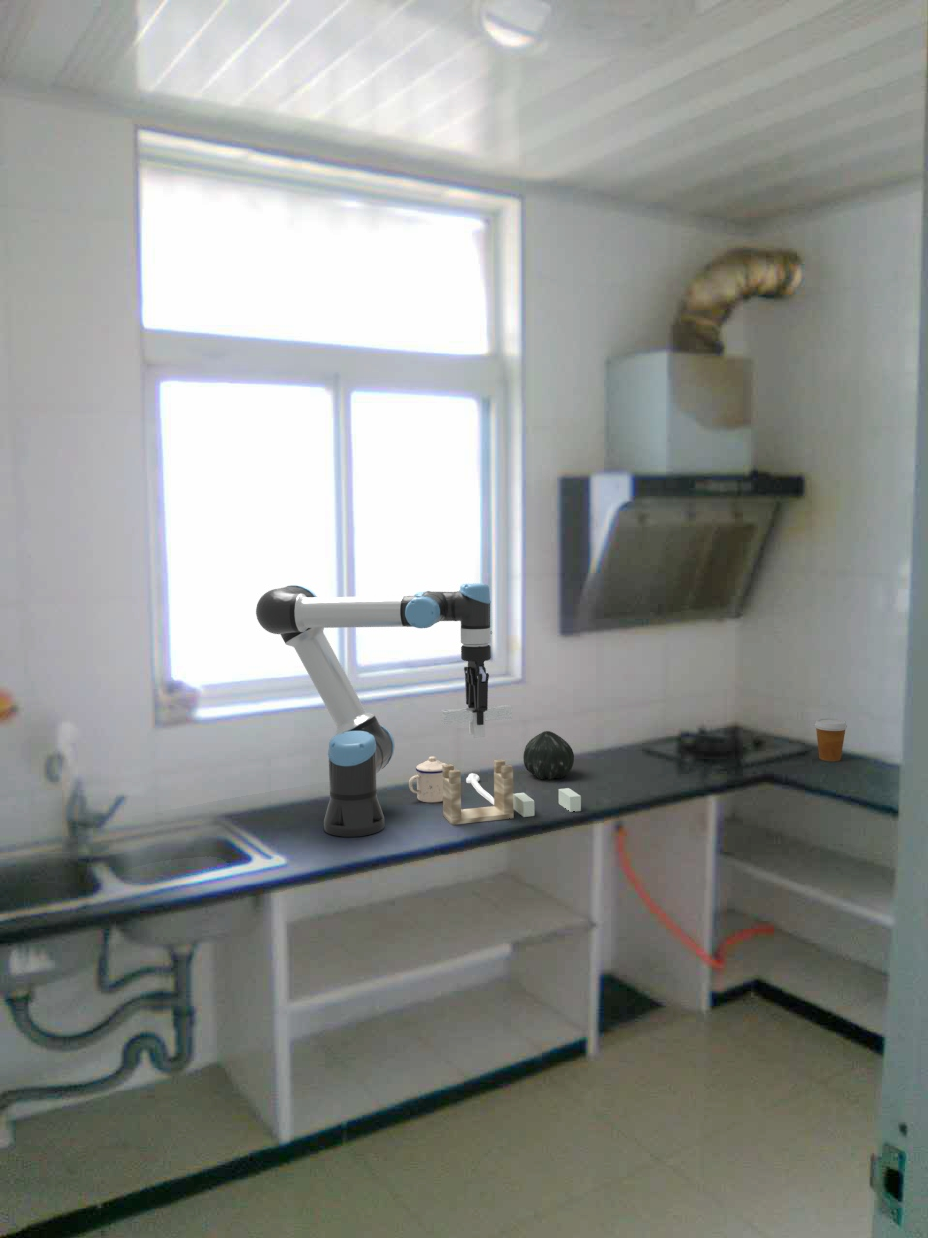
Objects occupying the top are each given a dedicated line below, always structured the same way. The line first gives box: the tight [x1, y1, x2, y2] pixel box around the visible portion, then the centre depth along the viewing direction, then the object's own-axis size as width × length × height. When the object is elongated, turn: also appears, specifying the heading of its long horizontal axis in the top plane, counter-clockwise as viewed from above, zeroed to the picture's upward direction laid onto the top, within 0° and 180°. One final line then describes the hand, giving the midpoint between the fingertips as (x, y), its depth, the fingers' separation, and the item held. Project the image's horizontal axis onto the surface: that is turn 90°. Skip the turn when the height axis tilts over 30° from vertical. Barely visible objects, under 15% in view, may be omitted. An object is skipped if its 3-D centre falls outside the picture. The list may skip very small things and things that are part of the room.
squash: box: [523, 730, 575, 780], centre depth 294 cm, size 14×15×15 cm
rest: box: [513, 787, 582, 818], centre depth 261 cm, size 16×8×4 cm, turn 107°
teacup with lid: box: [408, 756, 448, 803], centre depth 272 cm, size 12×9×12 cm
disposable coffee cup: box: [814, 718, 848, 762], centre depth 309 cm, size 10×10×12 cm
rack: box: [442, 759, 514, 826], centre depth 255 cm, size 16×8×14 cm, turn 107°
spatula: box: [465, 772, 494, 806], centre depth 278 cm, size 28×4×3 cm, turn 16°
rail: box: [440, 704, 513, 725], centre depth 253 cm, size 18×3×3 cm, turn 107°
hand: (477, 735), depth 254 cm, fingers closed on rail, 3 cm apart
